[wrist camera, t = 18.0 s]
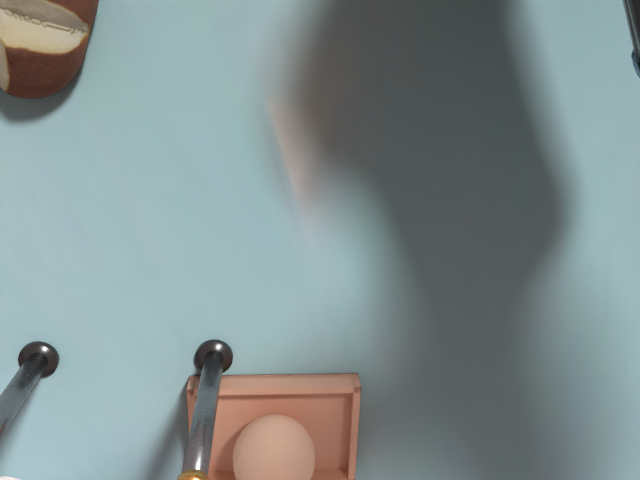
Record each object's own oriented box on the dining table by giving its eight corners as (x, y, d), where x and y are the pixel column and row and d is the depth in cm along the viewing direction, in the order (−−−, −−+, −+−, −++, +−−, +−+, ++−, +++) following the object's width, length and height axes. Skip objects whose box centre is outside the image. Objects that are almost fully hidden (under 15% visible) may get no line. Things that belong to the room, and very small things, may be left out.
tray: (357, 373, 52) (361, 386, 50) (351, 468, 55) (354, 484, 53) (189, 375, 50) (186, 389, 49) (194, 473, 54) (192, 489, 52)
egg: (325, 438, 53) (334, 507, 46) (260, 470, 54) (258, 543, 46) (288, 383, 51) (290, 446, 43) (220, 418, 51) (212, 485, 44)
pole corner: (232, 339, 50) (216, 471, 35) (233, 370, 51) (217, 511, 36) (195, 339, 49) (164, 472, 35) (196, 371, 50) (167, 512, 36)
